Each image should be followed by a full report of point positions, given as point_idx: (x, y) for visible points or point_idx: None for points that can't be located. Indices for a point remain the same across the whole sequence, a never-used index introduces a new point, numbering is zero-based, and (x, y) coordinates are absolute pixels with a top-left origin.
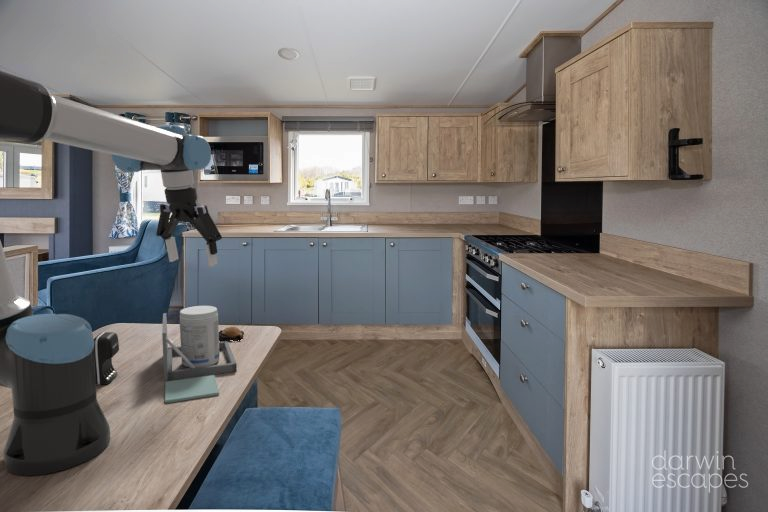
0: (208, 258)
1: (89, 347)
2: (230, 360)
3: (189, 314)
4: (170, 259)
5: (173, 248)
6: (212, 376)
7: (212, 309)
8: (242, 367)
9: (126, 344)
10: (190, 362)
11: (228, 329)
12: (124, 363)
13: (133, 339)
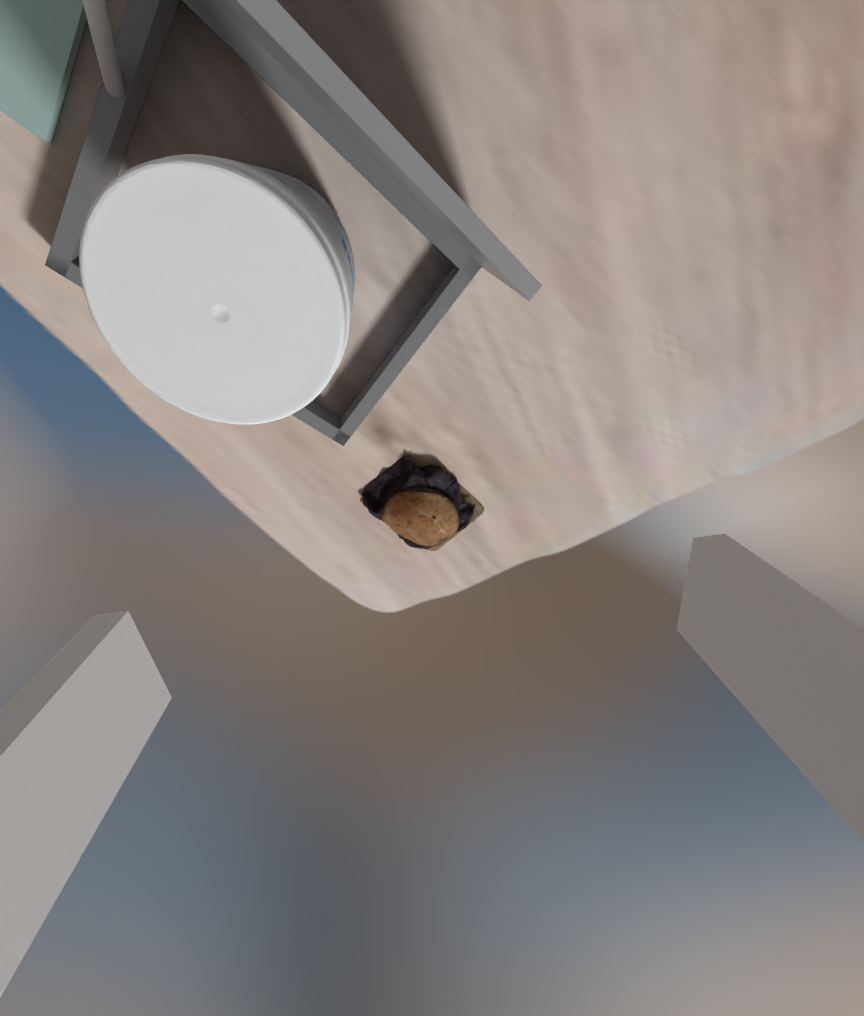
0: (24, 703)
1: None
2: None
3: (135, 169)
4: (724, 553)
5: (806, 714)
6: (27, 116)
7: (160, 369)
8: None
9: (718, 262)
10: (99, 62)
11: (424, 515)
12: (562, 50)
13: (726, 321)
